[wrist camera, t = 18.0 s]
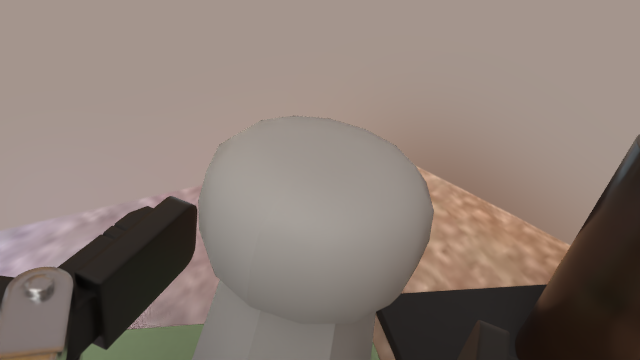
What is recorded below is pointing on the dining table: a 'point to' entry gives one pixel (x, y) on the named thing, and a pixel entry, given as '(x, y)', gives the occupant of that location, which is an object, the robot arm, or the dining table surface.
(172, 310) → the dining table surface
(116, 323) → the robot arm
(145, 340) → the sage mat
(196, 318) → the dining table surface
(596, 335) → the dark brown cylinder
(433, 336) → the dark mat
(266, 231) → the salt shaker
